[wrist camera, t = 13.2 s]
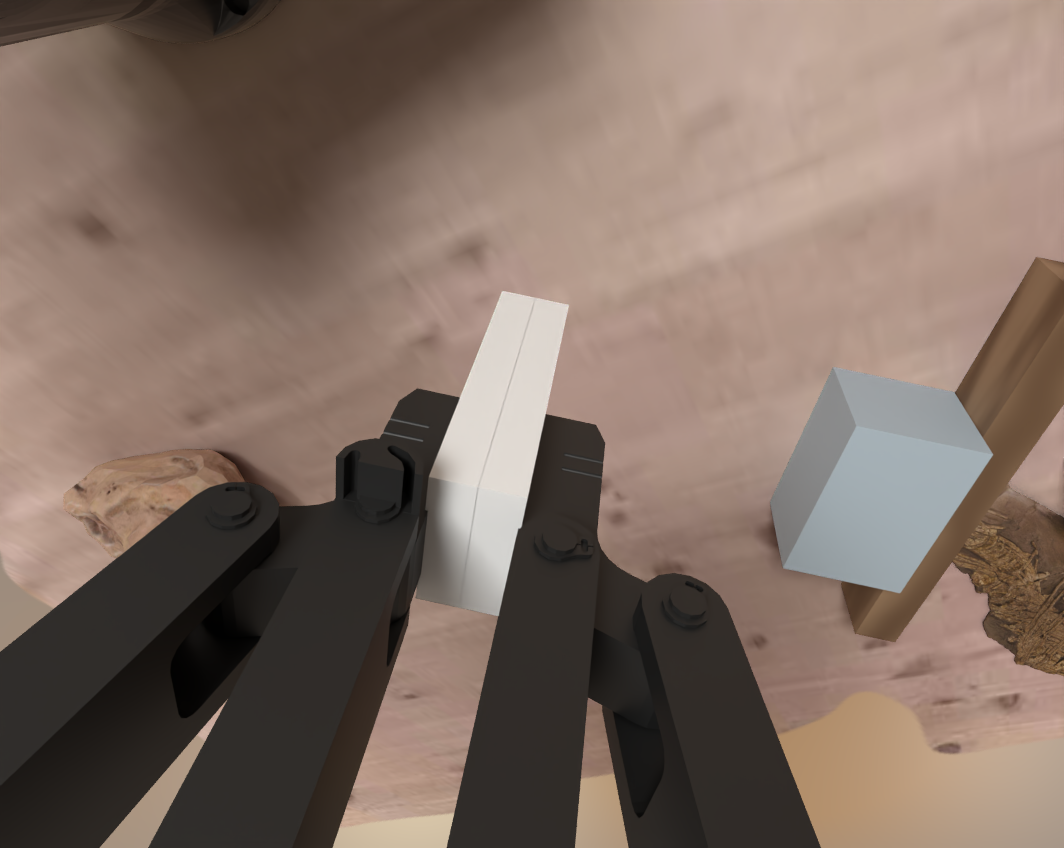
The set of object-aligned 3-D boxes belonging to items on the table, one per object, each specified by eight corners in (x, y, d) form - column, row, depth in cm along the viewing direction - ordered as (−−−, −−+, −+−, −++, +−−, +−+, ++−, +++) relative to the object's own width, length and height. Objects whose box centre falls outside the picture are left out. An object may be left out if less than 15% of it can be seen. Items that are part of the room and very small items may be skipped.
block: (769, 500, 55) (782, 568, 50) (832, 365, 48) (856, 425, 43) (874, 523, 55) (900, 593, 50) (953, 390, 48) (993, 454, 43)
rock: (235, 402, 57) (165, 484, 49) (307, 495, 61) (254, 584, 53) (72, 464, 63) (-14, 546, 55) (149, 545, 68) (80, 631, 60)
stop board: (841, 583, 59) (855, 633, 55) (1036, 257, 43) (1076, 293, 39) (878, 591, 59) (894, 642, 55) (1088, 267, 43) (1134, 305, 38)
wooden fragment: (918, 512, 54) (922, 522, 53) (1085, 451, 50) (1093, 461, 49) (1029, 705, 65) (1034, 716, 64) (1176, 670, 60) (1183, 681, 59)
